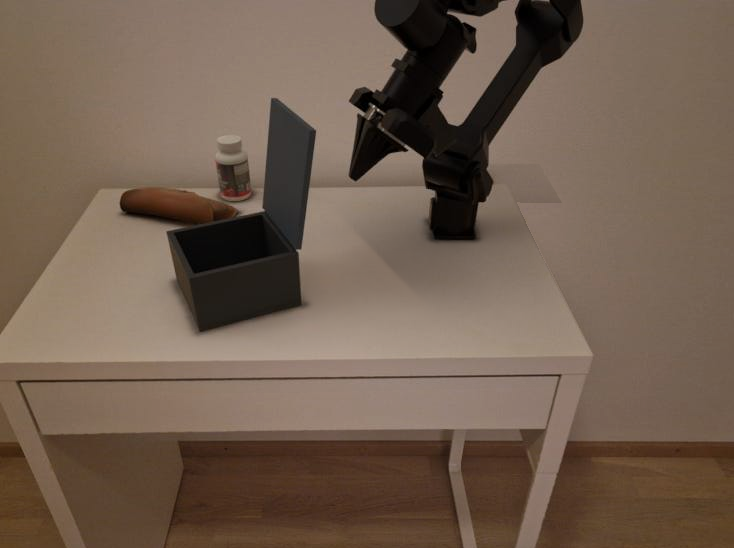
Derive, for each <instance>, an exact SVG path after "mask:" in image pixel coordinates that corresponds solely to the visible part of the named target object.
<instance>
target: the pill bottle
mask: <svg viewBox="0 0 734 548" xmlns="http://www.w3.org/2000/svg"><path fill="white" fill-rule="evenodd" d="M216 147H217V150H218V151H217V152H216V153H215V156H214V159H215V168H216V173H217V181H218V185H219V186H218V188H219V192H220V197H221V198H222V199H223V200H226V201H230V202H239V201H245V200H246V199H248V198H249V197H251V196H252V183H251V175H250V165H249V156H248V152H247V151H246V150H245V149H243V141H242V138H241V136H239V135H236V134H225V135H221V136H219V137H218V138H216Z"/></svg>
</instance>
